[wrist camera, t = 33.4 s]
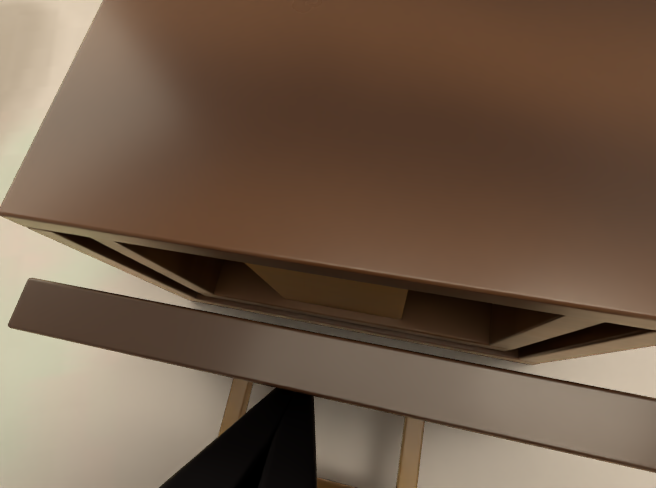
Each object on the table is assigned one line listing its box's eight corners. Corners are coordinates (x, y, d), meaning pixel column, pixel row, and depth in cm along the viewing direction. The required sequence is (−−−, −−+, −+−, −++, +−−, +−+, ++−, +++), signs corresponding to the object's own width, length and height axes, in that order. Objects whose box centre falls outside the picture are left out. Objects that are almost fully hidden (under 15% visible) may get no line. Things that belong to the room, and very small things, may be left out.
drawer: (514, 569, 13) (691, 818, 5) (139, 463, 15) (-88, 534, 8) (538, 55, 19) (634, -154, 12) (270, 41, 21) (212, -137, 14)
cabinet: (533, 365, 15) (743, 334, 6) (188, 300, 18) (-6, 214, 9) (547, 17, 21) (671, -266, 12) (279, 7, 23) (214, -228, 14)
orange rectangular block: (401, 320, 15) (408, 288, 10) (283, 298, 15) (240, 260, 11) (422, 175, 16) (437, 91, 12) (316, 163, 17) (291, 80, 13)
